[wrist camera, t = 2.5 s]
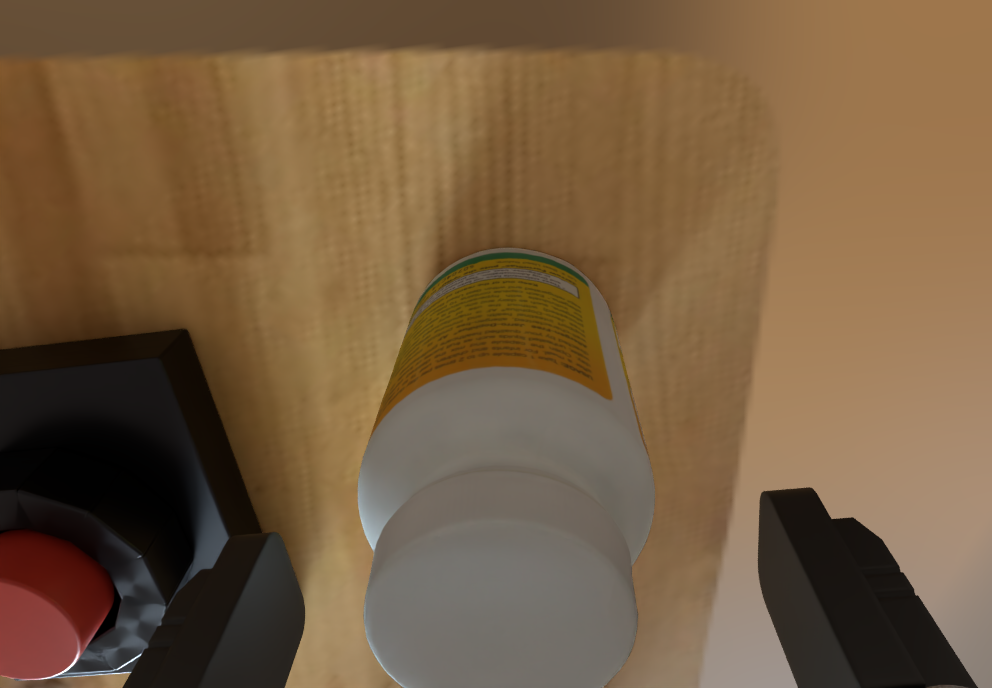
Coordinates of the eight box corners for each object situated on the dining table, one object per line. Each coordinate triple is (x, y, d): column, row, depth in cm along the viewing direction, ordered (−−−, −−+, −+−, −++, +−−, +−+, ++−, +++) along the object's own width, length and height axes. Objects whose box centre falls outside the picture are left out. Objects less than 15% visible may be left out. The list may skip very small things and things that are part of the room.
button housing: (-121, 362, 20) (-241, 434, 17) (187, 327, 19) (122, 395, 16) (45, 639, 25) (-23, 734, 22) (295, 620, 24) (262, 716, 21)
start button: (-46, 533, 18) (-98, 584, 17) (84, 521, 18) (43, 572, 17) (15, 631, 20) (-28, 685, 19) (135, 621, 20) (102, 676, 18)
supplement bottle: (651, 358, 19) (758, 668, 10) (489, 453, 21) (468, 791, 12) (535, 197, 17) (550, 414, 9) (367, 315, 19) (238, 599, 10)
